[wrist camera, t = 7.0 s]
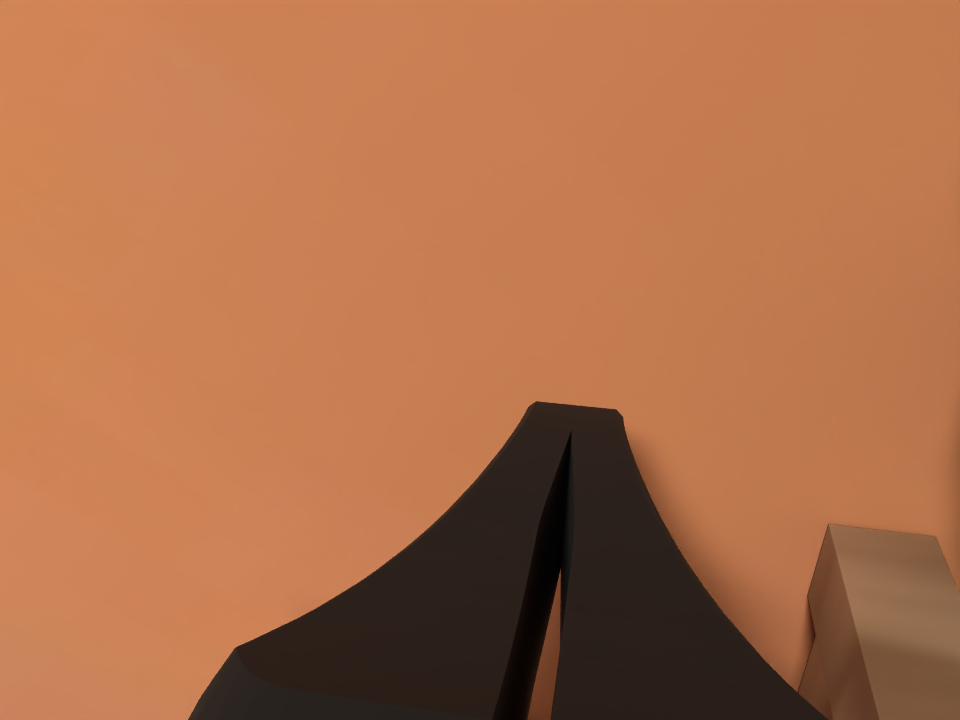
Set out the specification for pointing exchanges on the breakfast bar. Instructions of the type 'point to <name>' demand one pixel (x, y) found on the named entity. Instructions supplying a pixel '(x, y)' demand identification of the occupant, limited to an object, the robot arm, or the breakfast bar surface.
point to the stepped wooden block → (883, 628)
